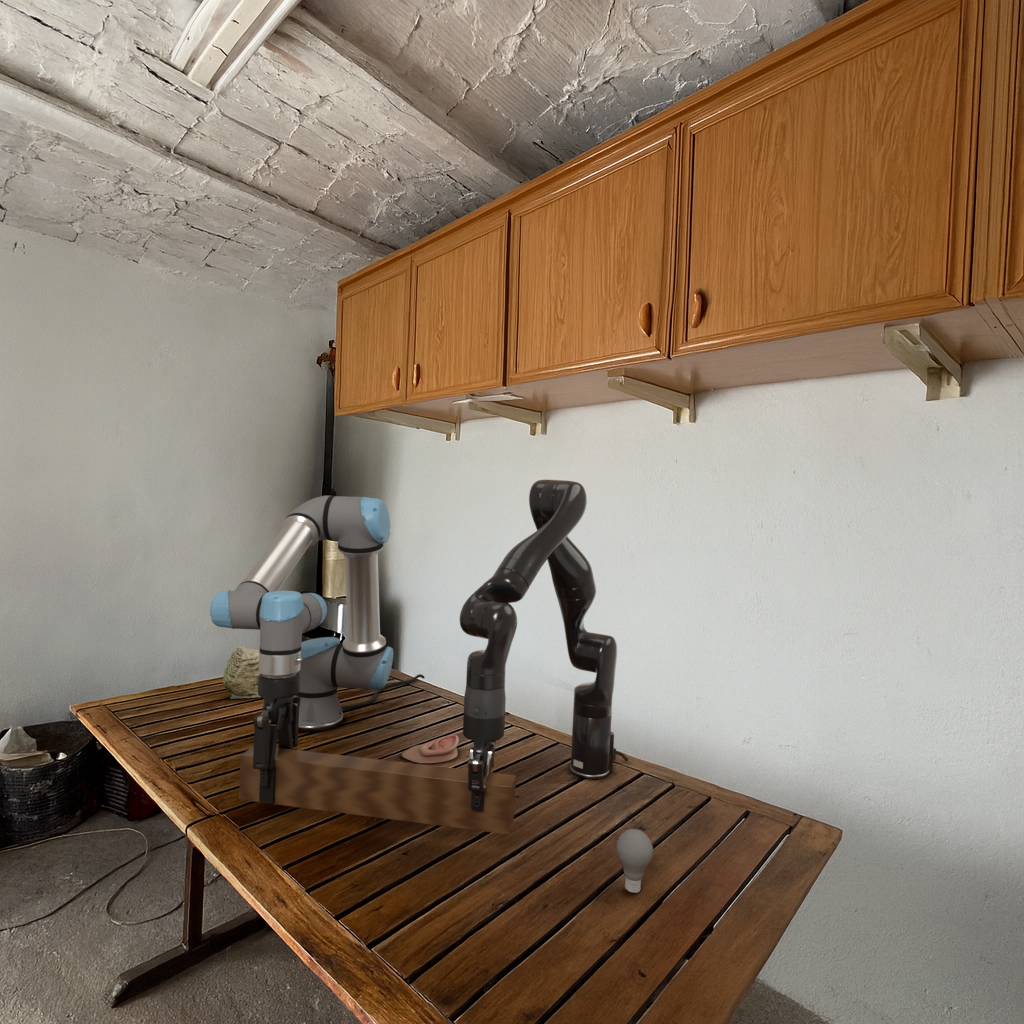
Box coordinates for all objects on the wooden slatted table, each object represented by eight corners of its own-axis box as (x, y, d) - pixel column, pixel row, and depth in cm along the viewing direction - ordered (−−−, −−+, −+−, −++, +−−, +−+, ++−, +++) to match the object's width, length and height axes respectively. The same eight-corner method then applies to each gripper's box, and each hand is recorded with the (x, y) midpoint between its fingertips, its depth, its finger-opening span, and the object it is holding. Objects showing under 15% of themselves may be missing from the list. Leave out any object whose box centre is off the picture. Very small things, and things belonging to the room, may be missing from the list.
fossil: (218, 695, 195) (220, 647, 195) (278, 685, 208) (279, 640, 207) (228, 703, 189) (230, 653, 188) (289, 692, 201) (290, 645, 201)
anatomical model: (397, 744, 153) (414, 727, 164) (396, 760, 153) (413, 743, 165) (449, 750, 151) (463, 733, 162) (449, 767, 151) (462, 749, 162)
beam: (238, 799, 119) (240, 754, 119) (253, 788, 124) (255, 745, 124) (509, 834, 111) (512, 787, 111) (513, 820, 116) (516, 775, 116)
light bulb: (610, 879, 108) (613, 822, 108) (644, 879, 109) (647, 822, 109) (619, 902, 102) (622, 840, 102) (655, 901, 103) (658, 840, 103)
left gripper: (273, 688, 111) (268, 820, 111) (319, 663, 129) (315, 776, 129) (233, 684, 112) (228, 815, 112) (285, 660, 130) (280, 773, 130)
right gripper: (498, 725, 107) (493, 825, 107) (511, 699, 121) (507, 787, 121) (454, 721, 108) (450, 819, 108) (472, 696, 122) (469, 783, 122)
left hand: (274, 794), depth 121 cm, fingers closed on beam, 5 cm apart
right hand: (480, 802), depth 115 cm, fingers closed on beam, 5 cm apart
